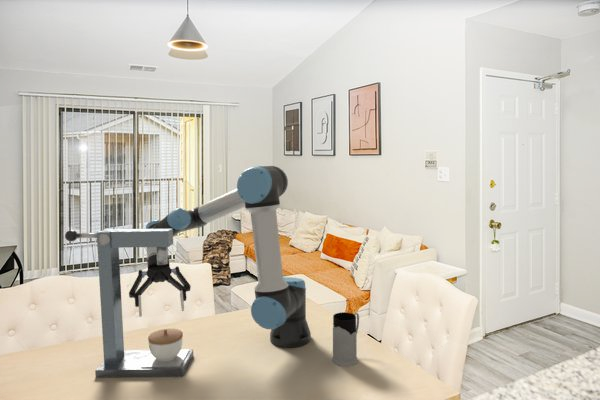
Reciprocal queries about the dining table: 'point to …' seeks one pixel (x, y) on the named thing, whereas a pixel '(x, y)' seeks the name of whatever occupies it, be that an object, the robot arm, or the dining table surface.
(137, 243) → the arbor press
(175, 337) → the lidded jar
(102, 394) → the dining table surface
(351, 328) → the grey mug
